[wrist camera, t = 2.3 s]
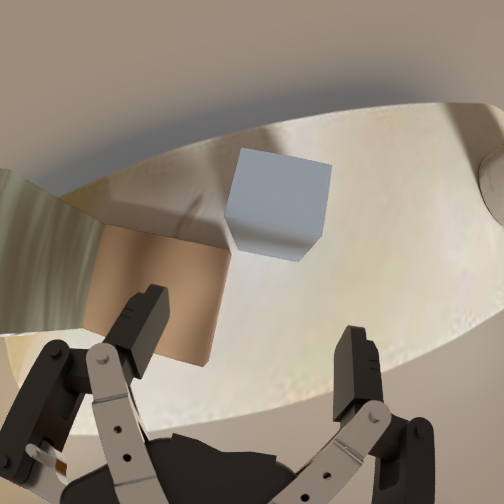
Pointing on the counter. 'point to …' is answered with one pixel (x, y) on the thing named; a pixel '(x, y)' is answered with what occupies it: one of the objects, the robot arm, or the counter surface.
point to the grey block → (277, 204)
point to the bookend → (100, 272)
